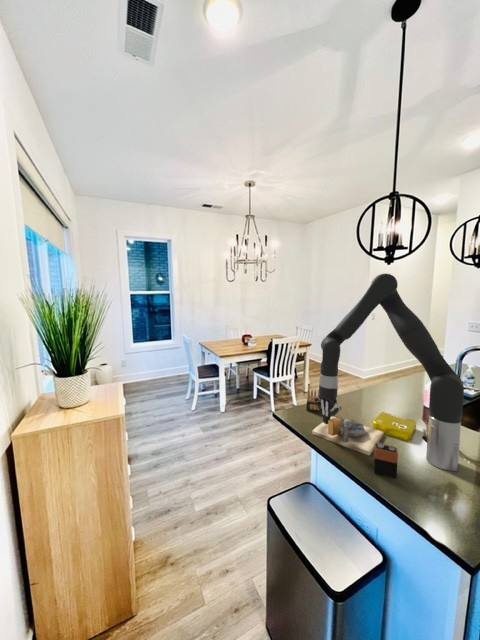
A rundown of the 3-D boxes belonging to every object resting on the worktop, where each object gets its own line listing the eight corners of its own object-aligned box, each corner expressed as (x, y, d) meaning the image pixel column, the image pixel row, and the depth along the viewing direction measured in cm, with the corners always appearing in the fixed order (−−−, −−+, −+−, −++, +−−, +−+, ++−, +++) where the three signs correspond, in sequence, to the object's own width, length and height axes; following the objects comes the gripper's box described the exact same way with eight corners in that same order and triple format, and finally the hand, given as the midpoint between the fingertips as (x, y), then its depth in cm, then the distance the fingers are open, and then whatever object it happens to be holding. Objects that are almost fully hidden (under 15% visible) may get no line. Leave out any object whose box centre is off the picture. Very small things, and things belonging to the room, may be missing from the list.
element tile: (416, 429, 123) (417, 419, 122) (409, 443, 112) (410, 432, 111) (381, 419, 133) (381, 410, 132) (371, 430, 122) (372, 420, 121)
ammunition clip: (306, 410, 142) (306, 388, 141) (306, 409, 144) (306, 387, 143) (327, 413, 138) (327, 391, 137) (327, 412, 140) (327, 390, 139)
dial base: (383, 435, 117) (384, 417, 116) (369, 455, 102) (370, 435, 101) (330, 418, 133) (331, 403, 132) (311, 434, 118) (312, 416, 117)
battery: (373, 466, 96) (374, 440, 95) (395, 471, 93) (396, 444, 92) (373, 474, 92) (375, 446, 91) (396, 479, 89) (398, 451, 88)
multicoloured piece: (345, 418, 126) (345, 406, 126) (370, 430, 115) (371, 417, 114) (318, 428, 118) (318, 414, 117) (343, 442, 106) (343, 427, 106)
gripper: (310, 381, 117) (308, 419, 119) (335, 391, 106) (333, 432, 108) (321, 378, 121) (320, 415, 123) (347, 387, 110) (345, 427, 112)
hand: (326, 423), depth 115 cm, fingers closed
